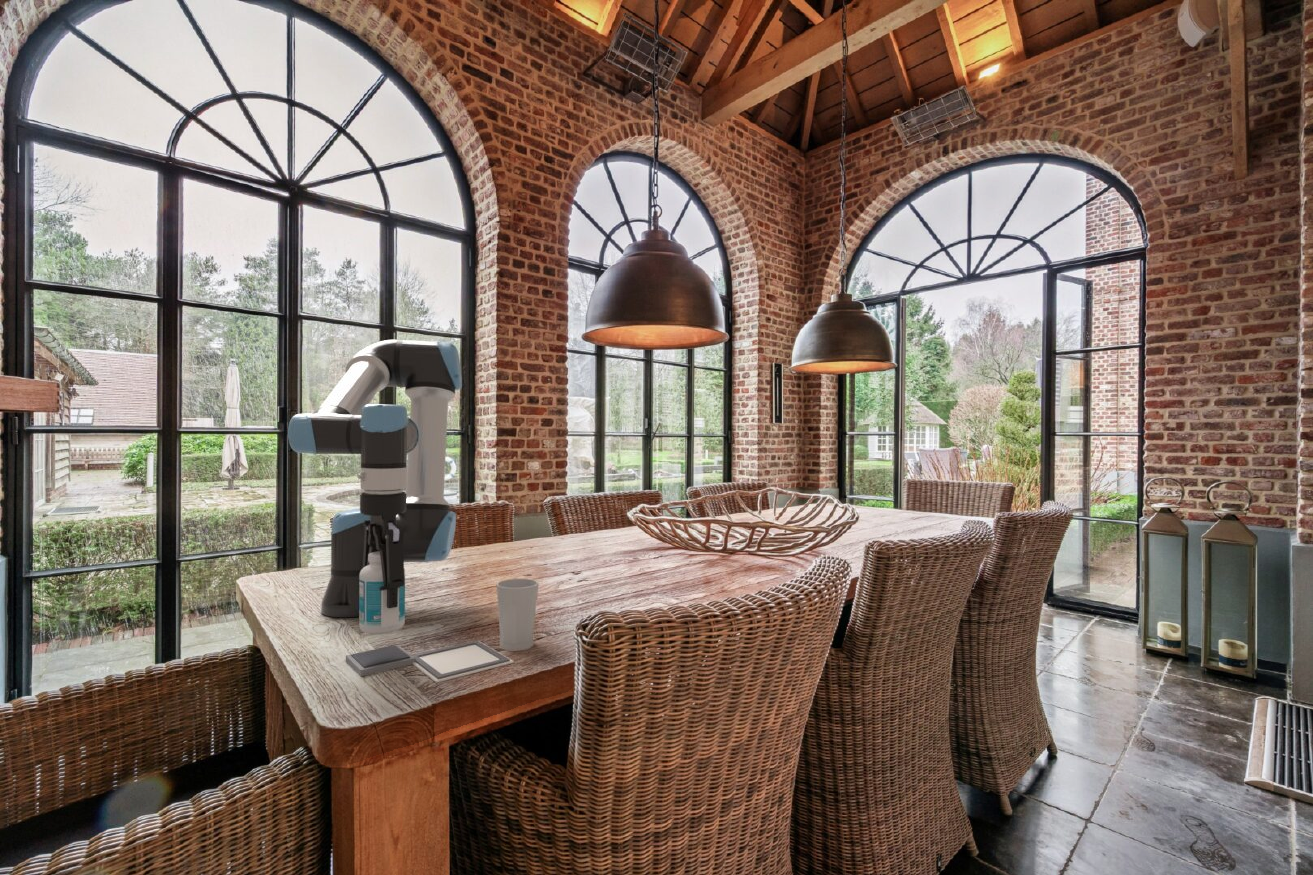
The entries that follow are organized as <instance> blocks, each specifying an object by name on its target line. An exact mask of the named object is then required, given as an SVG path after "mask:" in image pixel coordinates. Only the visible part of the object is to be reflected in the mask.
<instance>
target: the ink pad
mask: <svg viewBox="0 0 1313 875" xmlns="http://www.w3.org/2000/svg"><path fill="white" fill-rule="evenodd" d="M412 655H413V654H411V653H409V651H407V650H405V649H404V648H403V647H402V646H400V645H399V644H394V645H390V646H385V647H381V648H375V649H370V650H366V651H361V652H357V653H356V652H355V653H352V654H346V655H345V662H346V663H347V665H349V666H350V667H351V668H352V669H353V670H354V671H355V673H357V674H358V675H359V676H360V677H363V676H368V675H372V674H377V673H381V672H386V671H389V670H394V669H398V668H403V667H407V666H412V665H413V662H416V658H415V657H414V656H412Z"/></svg>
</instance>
